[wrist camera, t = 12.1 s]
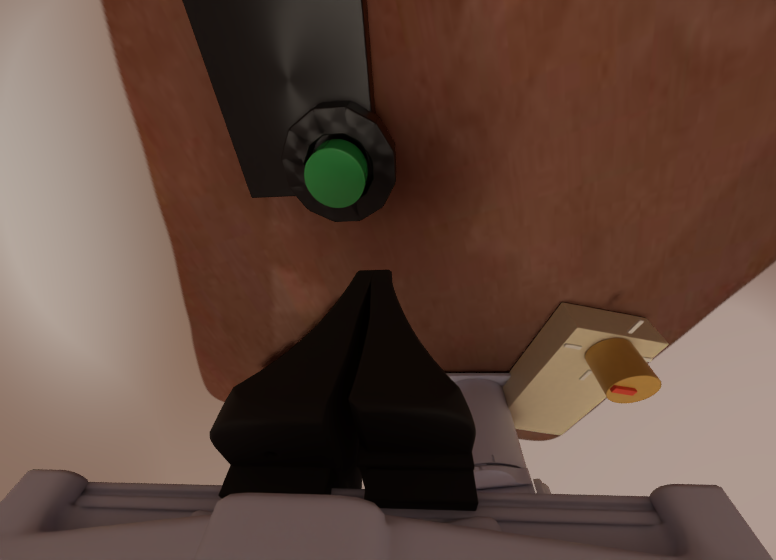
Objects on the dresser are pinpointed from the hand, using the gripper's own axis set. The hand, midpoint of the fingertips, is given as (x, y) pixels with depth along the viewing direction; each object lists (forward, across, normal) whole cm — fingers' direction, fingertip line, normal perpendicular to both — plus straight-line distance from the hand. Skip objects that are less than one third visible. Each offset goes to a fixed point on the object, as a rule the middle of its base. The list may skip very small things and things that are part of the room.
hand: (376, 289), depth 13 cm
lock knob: (+7, -18, +13) cm, 23 cm away
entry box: (+10, +4, -7) cm, 13 cm away
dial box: (+10, -16, +19) cm, 27 cm away
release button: (+7, +2, -3) cm, 8 cm away
